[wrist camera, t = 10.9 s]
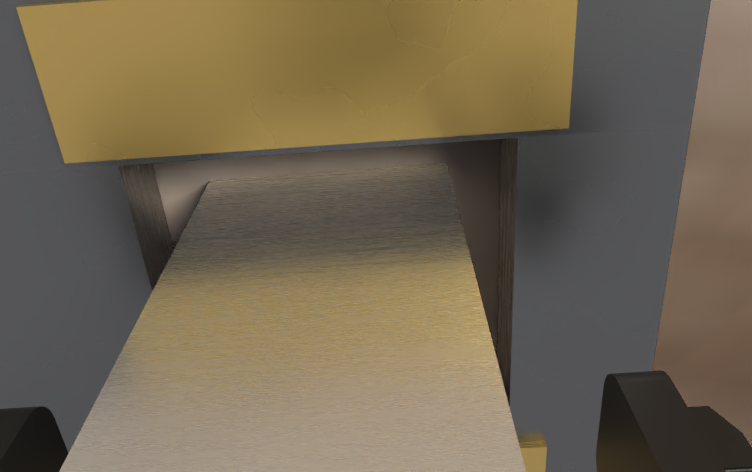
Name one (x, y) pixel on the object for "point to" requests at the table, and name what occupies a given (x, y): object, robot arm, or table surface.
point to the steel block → (310, 338)
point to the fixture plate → (343, 132)
